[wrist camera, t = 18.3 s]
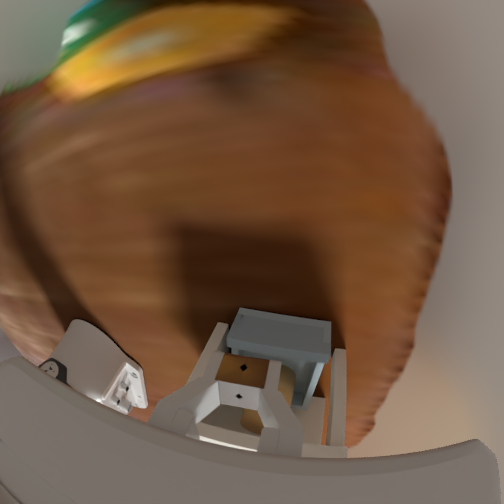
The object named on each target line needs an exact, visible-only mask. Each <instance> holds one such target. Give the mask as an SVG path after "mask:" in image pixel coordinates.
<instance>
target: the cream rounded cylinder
mask: <svg viewBox="0 0 504 504" xmlns="http://www.w3.org/2000/svg"><path fill="white" fill-rule="evenodd" d="M295 379H296V375H295V373H294V371H293V370H292V369H291V368H289V367H288V366H286V365H283V364H281V371H280V378H279V384H278V390H277V391H280V392H281V393H282V395H283V396H284V398H285V400H286V401H287V403H288V405H289V407H291V402H292V396H293V391H294V385H295ZM240 424H241V425H242V427H244V428H245V429H246V430H248V431H250V432H252V433H255V434H259V435H261V432H262V429H263V428H264V425H263V423H262V421H261V418H260V416H259V414H258V411H257V410H251V409H246V408H244V411H243V414H242V417H241V420H240Z"/></svg>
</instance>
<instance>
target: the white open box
mask: <svg viewBox="0 0 504 504" xmlns="http://www.w3.org/2000/svg"><path fill="white" fill-rule="evenodd" d="M228 333H229V324H226V323H221V322H218V323H217V325H216V327H215V329H214V331H213V333H212V335H211V337H210V338H209V340H208V342H207V344H206V346H205V348H204V350H203V352H202V354H201V356H200V358H199V360H198V362H197V363H196V365H195V367H194V369H193V371H192V373H191V375H190V377H189V379H188V381H187V383H186V384H188V383H189V382H191V381H193V380H194V379H196V378H197V377H202V376H203V374H204V371H205V369H206V366H207V364H208V362H209V359H210V357H211V355H212V352H213V351H214V350H216V351H220V352H226V353H229V347H227V335H228ZM324 409H325V398H320V397H312V398H311V400H310V403H309V405H308V408H307V410H301V409H294V408H291V410H292V412H293V413H294V415H295V417H296V418H297V420H298V422H299V423H300V425H301V427H302V428H303V430H304V436H303V446H302V455H301V457H313V458H347V451H348V447H344V442H345V423H346V349H338V348H335V350H334V353H333V356H332V364H331V386H330V403H329V416H328V427H327V437H326V446H323V445H321V438H322V429H323V419H324ZM243 411H244V408H241V407H236V406H230V405H225V404H220V405H219V406H218V407H217V408H215V409H214V410H213V411H212V412H211V413H209V414H208V415H207V416H206V417H205V418H203V419H202V420H201V421H200V422H198V423H197V424H196V426H197V429H198V433H199V436H200V440H202V441H206V442H210V443H215V444H219V445H223V446H228V447H233V448H238V449H243V450H249V451H255V452H257V449H258V445H259V440H260V436H261V435H259V434H255V433H252V432H250V431H248V430H246V429H245V428H244V427H242V425H241V424H240V420H241V417H242V414H243Z"/></svg>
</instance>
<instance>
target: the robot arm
mask: <svg viewBox="0 0 504 504" xmlns="http://www.w3.org/2000/svg"><path fill="white" fill-rule="evenodd" d="M281 364H282V361H275V360H268V359H261V358H254V357H245V356H240V355H235V354H230V353H226V352H220V351H216V350H214V351H213V352H212V355H211V357H210V359H209V362H208V364H207V366H206V369H205V371H204V374H203V376H202V377H197V378H196V379H194V380H193V381H191V382H189V383H188V384H186V385H185V386H183V387H181V388H180V389H178V390H176V391H175V392H173V393H171V394H170V395H168V396H166V397H165V398H163V399H161V400H159V401H158V403H157V405H156V407H155V409H154V411H153V413H152V415H151V417H150V419H149V421H148V423H146V422H143V421H141V420H138V419H135V418H133V417H131V416H128V415H127V414H128V413H129V412H130V411H131V410H132V408H133V406H135V407H139V408H146V407H147V406H148V401H147V396H146V390H145V384H144V377H143V371H142V368H141V367H140V366H139V365H138V364H137V363H135V362H134V361H133V360H131V359H130V358H129V357H127V356H126V355H125V354H124V353H123V352H122V351H121V350H120V348H119V347H118V346H117V345H116V344H115V343H114V342H113V341H112V340H111V339H110V338H109V337H108V336H106V335H105V334H104V333H103V332H102V331H100V330H99V329H98V328H96V327H95V326H93V325H91V324H90V323H88V322H85V321H83V320H79V319H75V320H73V321H72V322H71V323H70V325H69V327H68V329H67V331H66V332H65V334H64V336H63V337H62V339H61V340H60V342H59V343H58V345H57V346H56V347H55V349H54V350H53V352H52V353H51V355H50V356H49V358H48V359H47V360H46V361H45V362H44V363H42V364H41V365H39V366H38V367H37V366H36V365H34V364H33V363H31V362H30V361H29V360H27V359H26V358H24V357H22V356H17V357H13V358H10V359H7V360H4V361H1V362H0V504H501V498H500V497H501V492H500V477H499V470H498V463H497V459H496V456H495V454H494V453H493V452H492V451H491V450H490V449H489V448H488V447H487V446H486V445H485V444H484V443H482V442H481V441H480V440H478V439H472V440H468V441H465V442H461V443H457V444H453V445H449V446H445V447H441V448H436V449H430V450H425V451H419V452H413V453H407V454H399V455H390V456H380V457H364V458H313V457H301V455H302V446H303V436H304V430H303V428H302V427H301V425H300V423H299V422H298V420H297V418H296V417H295V415H294V413H293V412H292V410H291V408H290V407H289V405H288V403H287V401H286V400H285V398H284V396H283V395H282V393H281V392H280V391H277V390H278V384H279V378H280V371H281ZM220 404H225V405H230V406H236V407H241V408H246V409H251V410H257V411H258V414H259V416H260V418H261V421H262V423H263V425H264V428H263V429H262V432H261V436H260V440H259V445H258V449H257V452H255V451H249V450H243V449H238V448H233V447H228V446H223V445H219V444H215V443H210V442H206V441H202V440H200V436H199V433H198V429H197V426H196V424H197V423H198V422H200V421H201V420H202V419H203V418H205V417H206V416H207V415H208V414H209V413H211V412H212V411H213V410H214V409H215V408H217V407H218V406H219V405H220Z"/></svg>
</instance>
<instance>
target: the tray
mask: <svg viewBox="0 0 504 504" xmlns="http://www.w3.org/2000/svg"><path fill="white" fill-rule="evenodd" d="M227 347H230V348H232V354H235V355H240V356H245V357H254V358H261V359H268V360H275V361H282V364H283V365H286V366H288V367H289V368H291V369H292V370H293V371H294V373H295V375H296V379H295V385H294V391H293V396H292V402H291V407H290V408H294V409H301V410H307V408H308V405H309V403H310V400H311V398H312V395H313V393H314V390H315V387H316V385H317V382H318V379H319V377H320V374H321V371H322V368H323V365H324V363H325V364H328V361H329V358H330V355H331V322H329V321H322V320H315V319H308V318H301V317H294V316H288V315H281V314H275V313H269V312H263V311H257V310H252V309H246V308H241V307H240V309H239V311H238V313H237V315H236V318H235V320H234V322H233V324H232V326H231V329H230V331H229V333H228V335H227Z"/></svg>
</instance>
